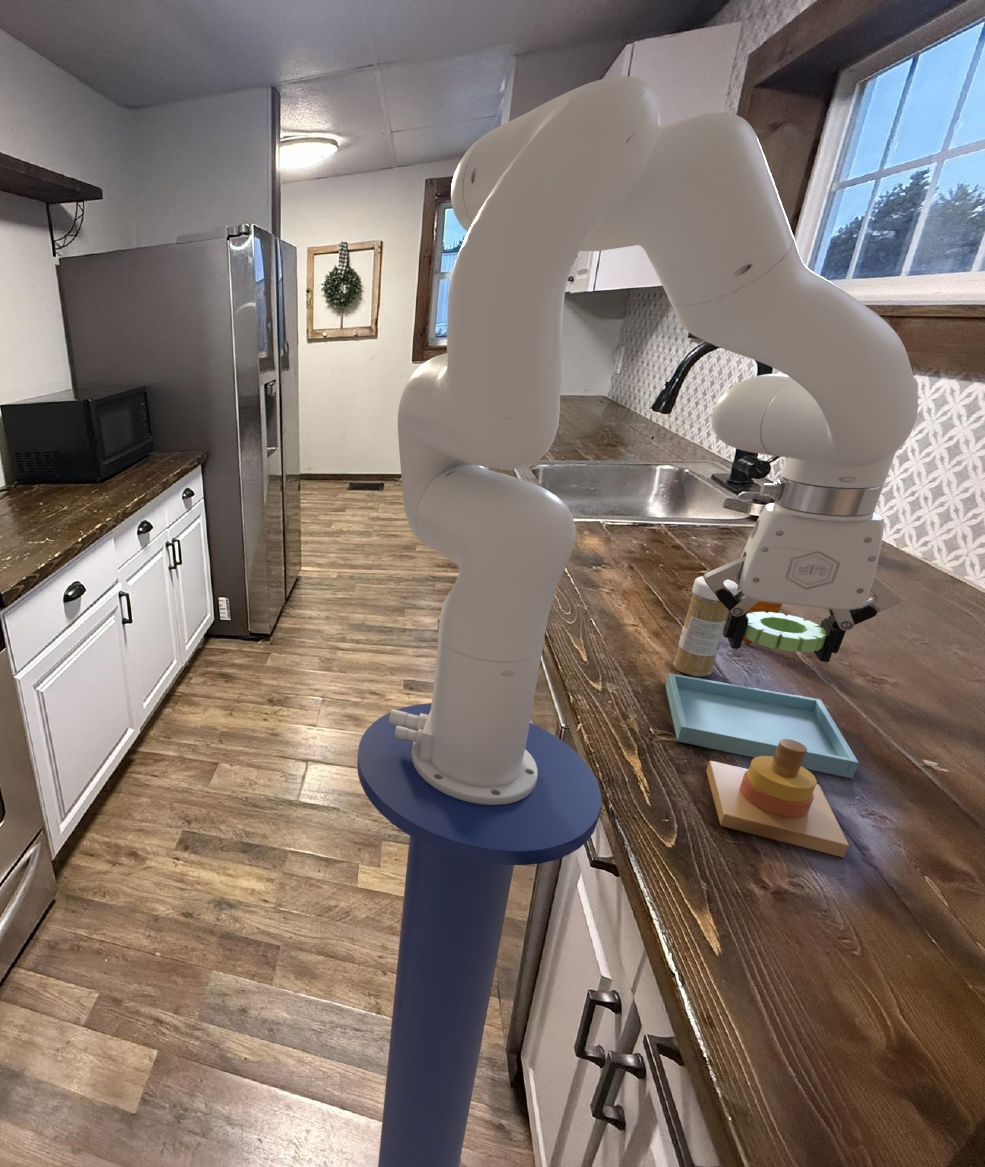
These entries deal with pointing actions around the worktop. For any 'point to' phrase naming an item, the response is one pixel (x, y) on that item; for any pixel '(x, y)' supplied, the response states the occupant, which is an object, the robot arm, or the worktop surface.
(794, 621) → the ring
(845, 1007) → the worktop surface
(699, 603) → the sprinkles bottle
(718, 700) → the tray
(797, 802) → the stand
